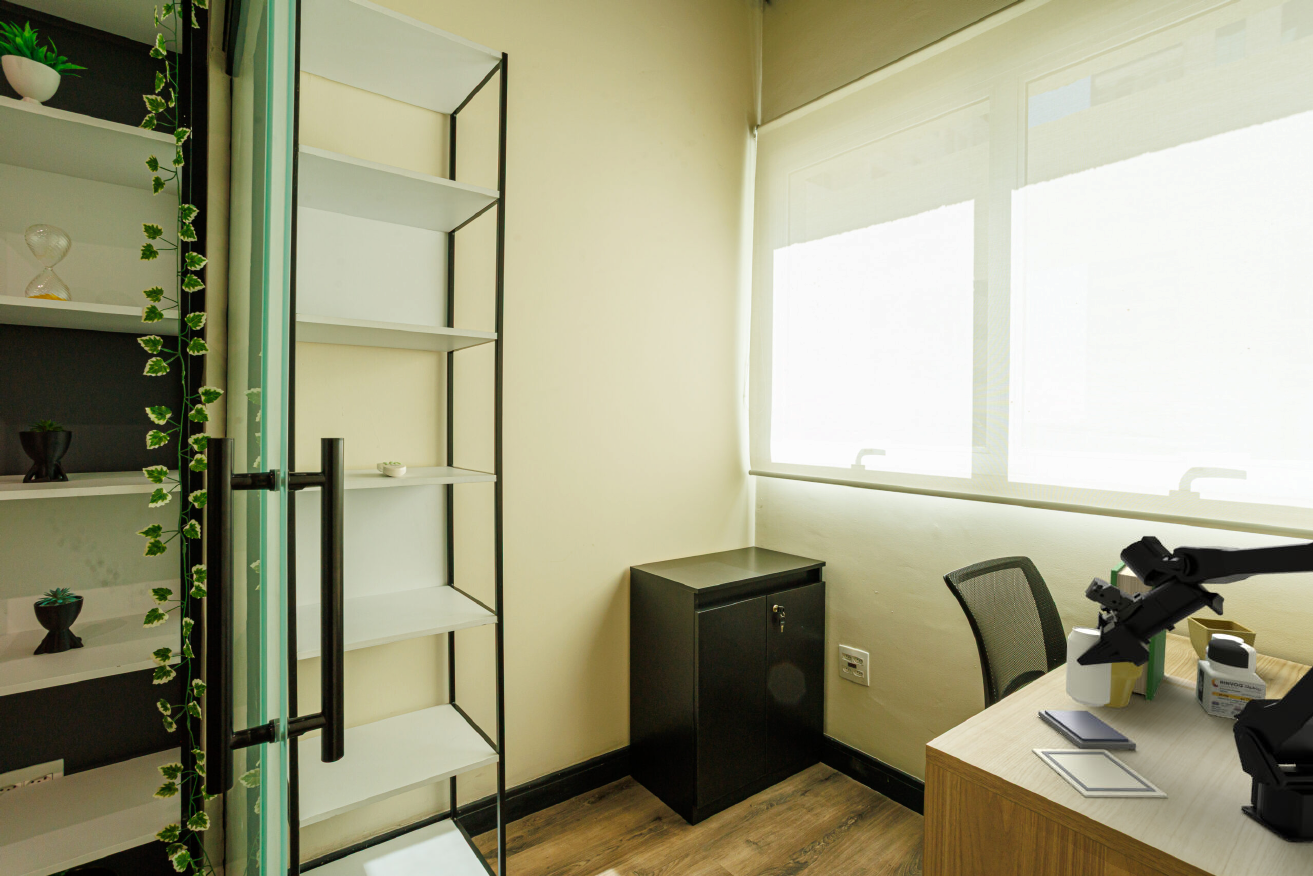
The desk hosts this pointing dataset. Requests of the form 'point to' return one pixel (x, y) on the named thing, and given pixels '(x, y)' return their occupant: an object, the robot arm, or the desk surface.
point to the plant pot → (1122, 683)
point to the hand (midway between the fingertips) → (1078, 657)
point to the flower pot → (1215, 632)
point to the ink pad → (1086, 730)
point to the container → (1228, 678)
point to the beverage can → (1086, 670)
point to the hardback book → (1155, 665)
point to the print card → (1098, 773)
